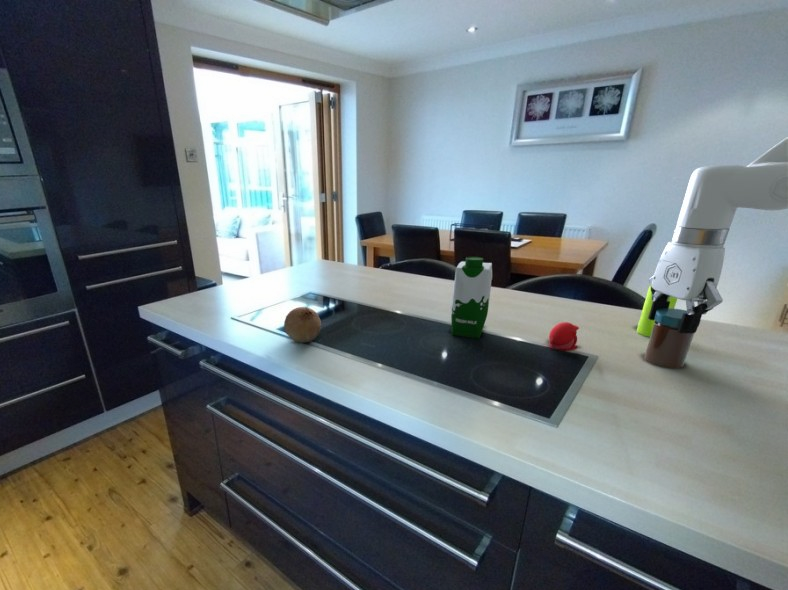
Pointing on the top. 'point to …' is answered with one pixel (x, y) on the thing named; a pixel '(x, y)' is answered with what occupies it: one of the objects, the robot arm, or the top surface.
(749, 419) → the top surface
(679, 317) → the lid
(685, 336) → the jar
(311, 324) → the brown round piece
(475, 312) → the milk carton
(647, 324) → the soap dispenser
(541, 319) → the top surface
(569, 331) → the cap
